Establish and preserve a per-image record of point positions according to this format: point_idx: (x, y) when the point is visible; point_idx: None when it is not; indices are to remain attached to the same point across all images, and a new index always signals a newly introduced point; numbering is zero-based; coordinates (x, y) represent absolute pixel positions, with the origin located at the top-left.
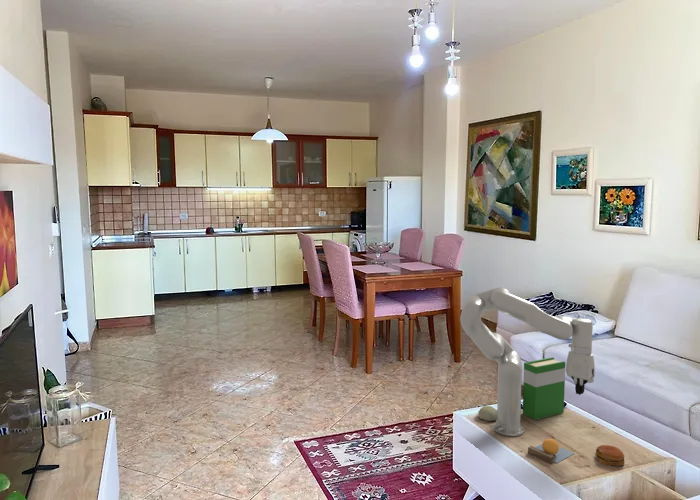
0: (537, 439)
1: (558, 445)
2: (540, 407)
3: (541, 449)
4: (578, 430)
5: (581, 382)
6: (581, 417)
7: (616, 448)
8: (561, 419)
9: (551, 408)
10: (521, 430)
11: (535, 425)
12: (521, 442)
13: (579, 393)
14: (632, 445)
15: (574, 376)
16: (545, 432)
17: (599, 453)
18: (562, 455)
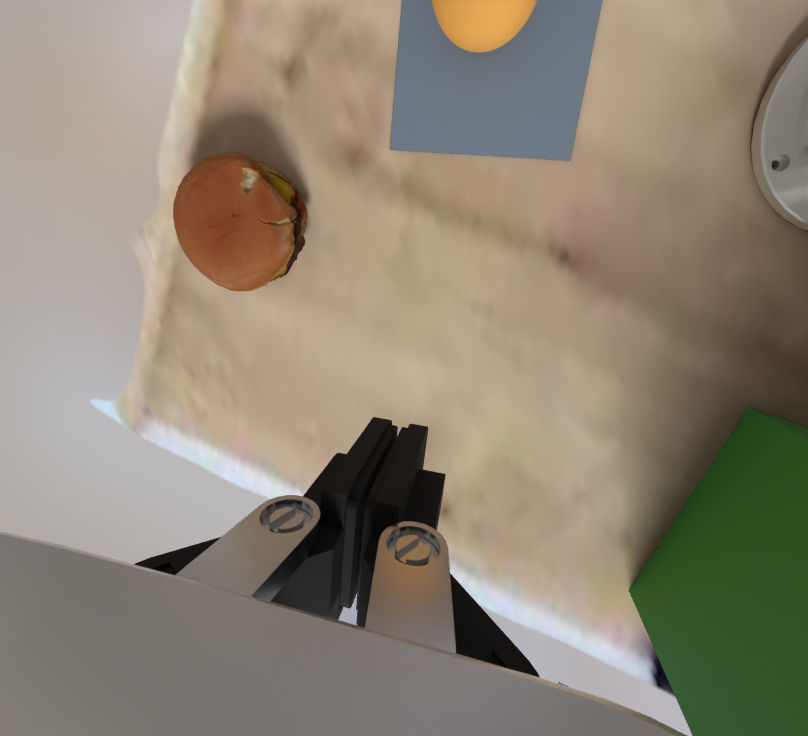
0: (630, 149)
1: (437, 4)
2: (774, 484)
3: (552, 21)
4: (484, 432)
5: (257, 541)
6: (529, 580)
7: (205, 255)
8: (607, 504)
9: (698, 549)
10: (778, 141)
11: (715, 333)
12: (710, 6)
13: (370, 423)
14: (259, 437)
15: (344, 629)
16: (623, 284)
17: (252, 160)
18: (424, 60)
